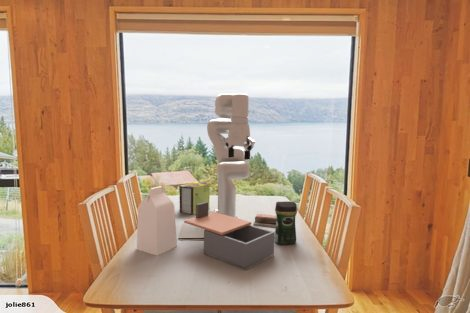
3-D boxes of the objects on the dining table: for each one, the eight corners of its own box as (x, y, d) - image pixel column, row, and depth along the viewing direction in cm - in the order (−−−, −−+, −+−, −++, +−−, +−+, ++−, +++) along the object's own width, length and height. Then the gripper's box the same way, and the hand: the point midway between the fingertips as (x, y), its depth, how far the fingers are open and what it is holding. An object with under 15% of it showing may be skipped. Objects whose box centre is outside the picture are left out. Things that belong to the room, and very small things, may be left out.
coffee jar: (293, 238, 161) (294, 199, 159) (297, 245, 154) (299, 204, 151) (272, 239, 161) (273, 199, 158) (276, 245, 153) (277, 204, 150)
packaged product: (253, 216, 179) (257, 211, 189) (253, 226, 180) (257, 220, 189) (288, 220, 174) (291, 215, 183) (288, 229, 175) (290, 224, 184)
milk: (156, 255, 140) (156, 192, 137) (136, 249, 146) (135, 188, 143) (177, 246, 150) (176, 186, 147) (157, 240, 156) (156, 183, 153)
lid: (184, 222, 149) (184, 206, 148) (213, 213, 162) (214, 199, 162) (222, 235, 135) (222, 217, 134) (251, 224, 148) (251, 208, 147)
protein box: (209, 208, 208) (210, 183, 206) (193, 215, 195) (193, 187, 193) (195, 206, 214) (196, 181, 212) (179, 212, 201) (178, 185, 199)
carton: (203, 253, 143) (204, 230, 141) (232, 241, 156) (233, 220, 155) (245, 270, 128) (246, 244, 127) (273, 255, 142) (274, 232, 141)
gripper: (220, 120, 162) (219, 157, 164) (249, 121, 151) (248, 161, 153) (230, 120, 168) (230, 155, 170) (259, 121, 156) (258, 159, 159)
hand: (239, 158), depth 161 cm, fingers open, 9 cm apart
